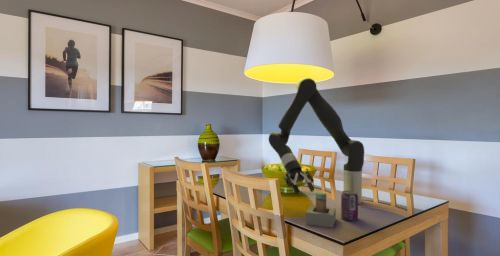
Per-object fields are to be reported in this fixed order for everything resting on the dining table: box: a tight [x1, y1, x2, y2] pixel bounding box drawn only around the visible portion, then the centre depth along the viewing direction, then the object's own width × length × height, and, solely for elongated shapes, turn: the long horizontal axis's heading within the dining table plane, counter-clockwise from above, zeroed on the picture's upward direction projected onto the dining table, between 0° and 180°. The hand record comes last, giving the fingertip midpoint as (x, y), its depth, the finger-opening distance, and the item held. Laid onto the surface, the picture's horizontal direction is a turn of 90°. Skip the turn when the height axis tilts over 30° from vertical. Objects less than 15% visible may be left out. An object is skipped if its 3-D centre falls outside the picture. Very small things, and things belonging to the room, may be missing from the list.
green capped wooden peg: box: [315, 192, 327, 213], centre depth 122 cm, size 4×4×12 cm
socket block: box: [305, 204, 337, 229], centre depth 122 cm, size 11×11×5 cm
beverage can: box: [340, 190, 359, 222], centre depth 125 cm, size 7×7×12 cm
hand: (305, 191), depth 131 cm, fingers open, 8 cm apart
